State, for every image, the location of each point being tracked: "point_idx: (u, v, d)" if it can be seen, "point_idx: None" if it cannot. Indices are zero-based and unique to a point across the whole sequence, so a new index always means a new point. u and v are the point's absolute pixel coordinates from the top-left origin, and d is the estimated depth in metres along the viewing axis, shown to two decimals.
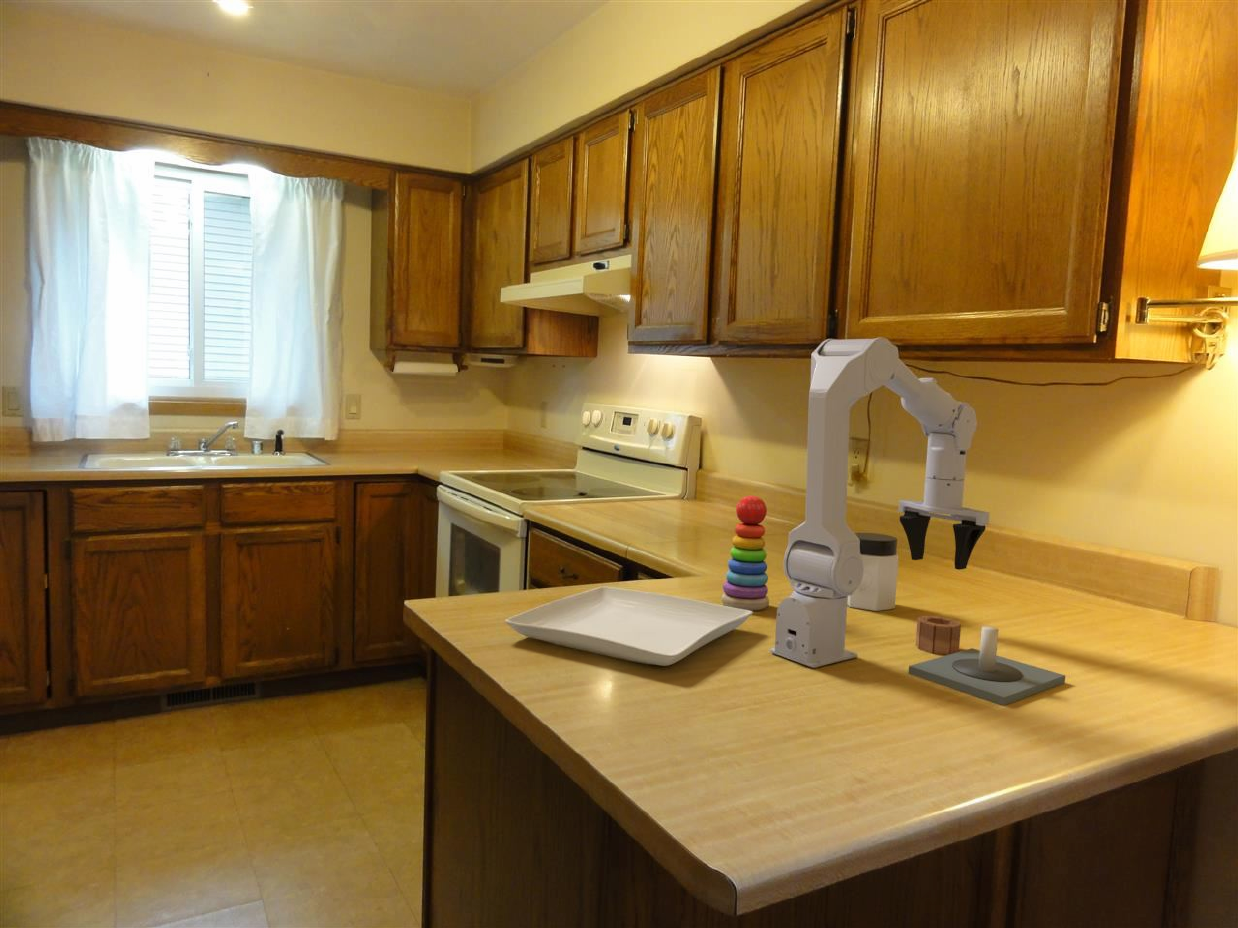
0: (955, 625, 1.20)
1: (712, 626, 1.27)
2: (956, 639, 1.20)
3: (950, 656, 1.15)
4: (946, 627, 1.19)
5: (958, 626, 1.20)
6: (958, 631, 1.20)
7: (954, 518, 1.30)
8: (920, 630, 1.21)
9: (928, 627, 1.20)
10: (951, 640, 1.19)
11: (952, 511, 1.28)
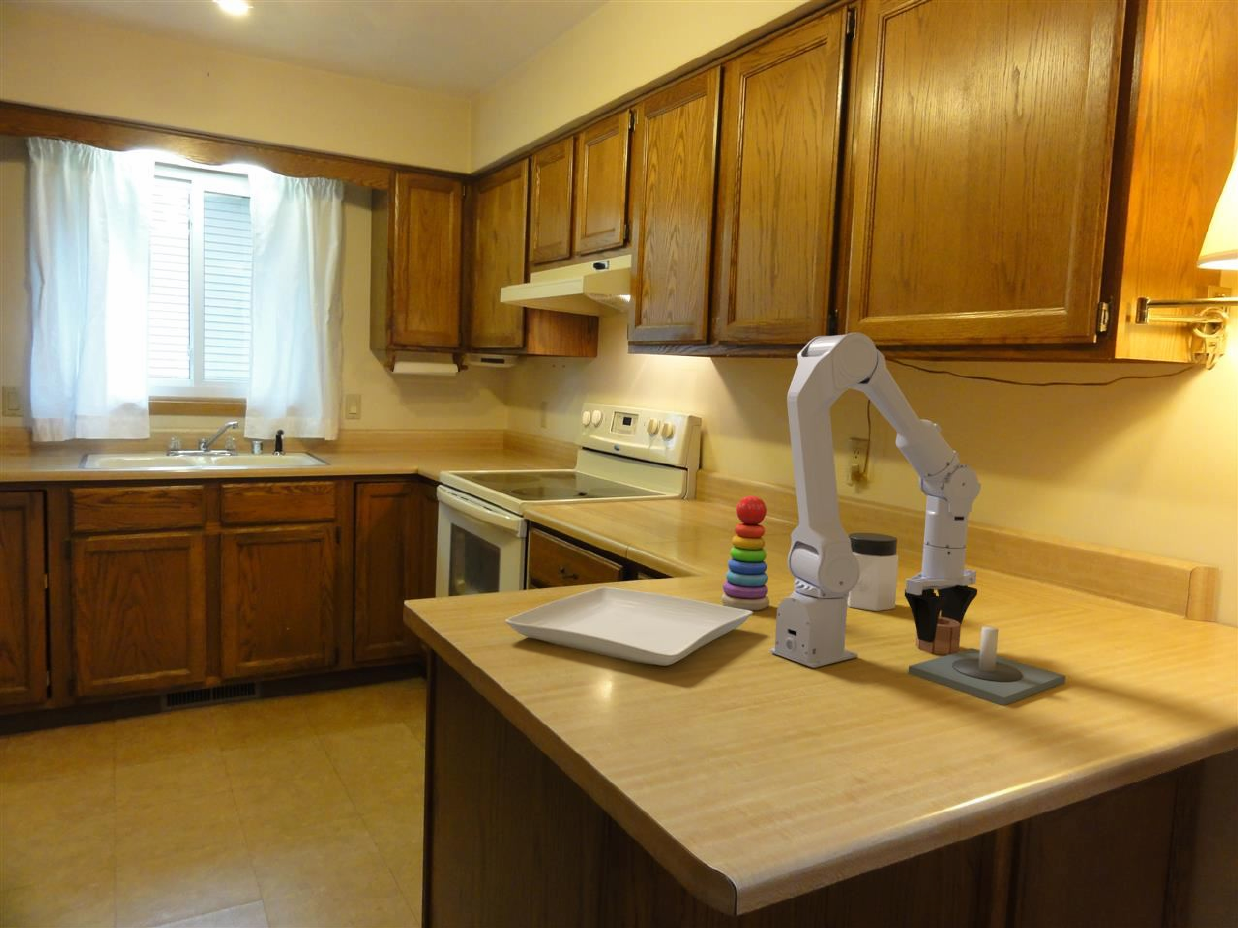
0: (955, 625, 1.20)
1: (712, 626, 1.27)
2: (956, 639, 1.20)
3: (950, 656, 1.15)
4: (946, 627, 1.19)
5: (958, 626, 1.20)
6: (958, 631, 1.20)
7: None
8: None
9: None
10: (951, 640, 1.19)
11: None
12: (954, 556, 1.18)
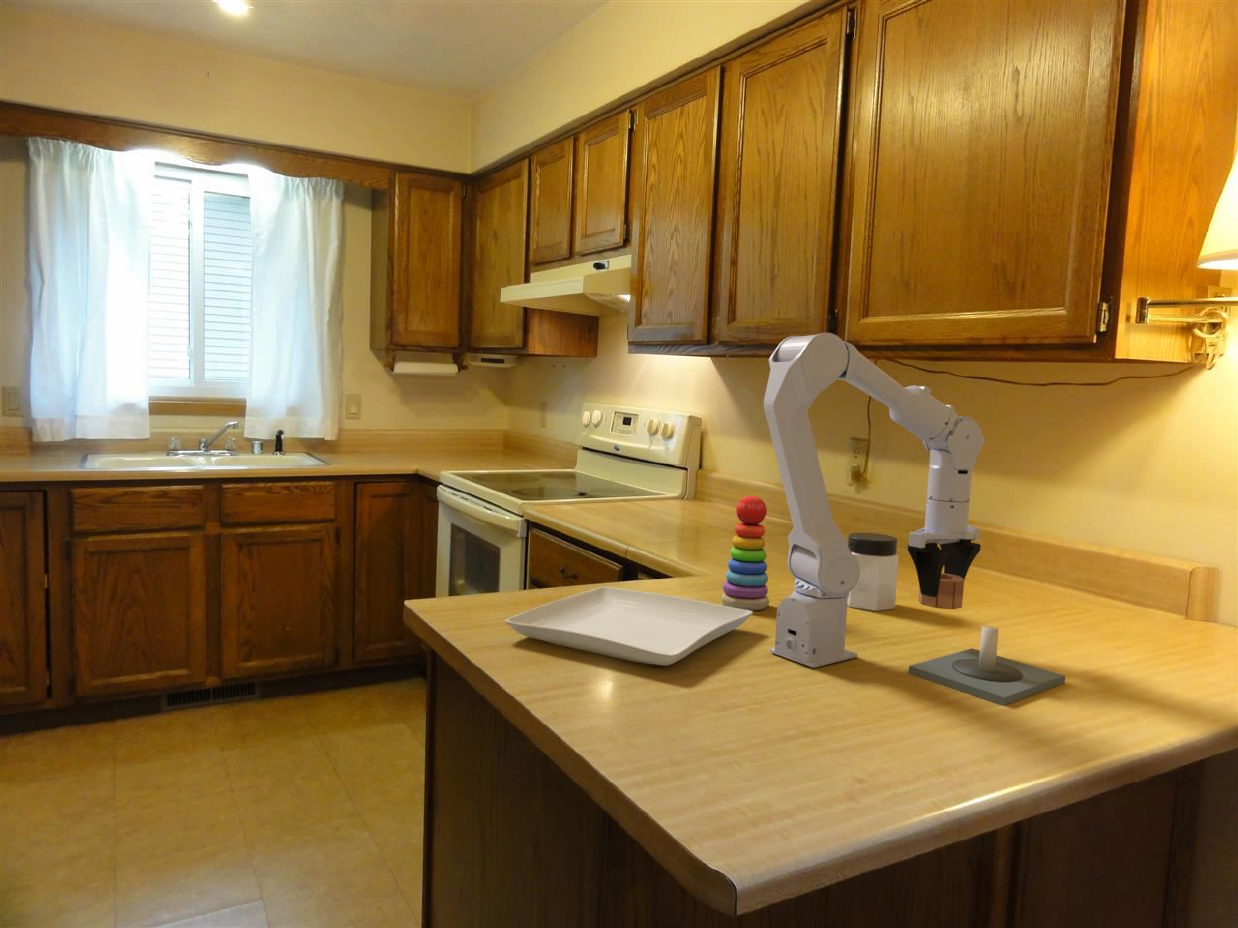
0: (958, 580, 1.19)
1: (712, 626, 1.27)
2: (959, 594, 1.19)
3: (950, 656, 1.15)
4: (949, 582, 1.19)
5: (961, 581, 1.19)
6: (961, 586, 1.20)
7: None
8: None
9: None
10: (954, 595, 1.19)
11: (919, 530, 1.21)
12: (957, 509, 1.18)
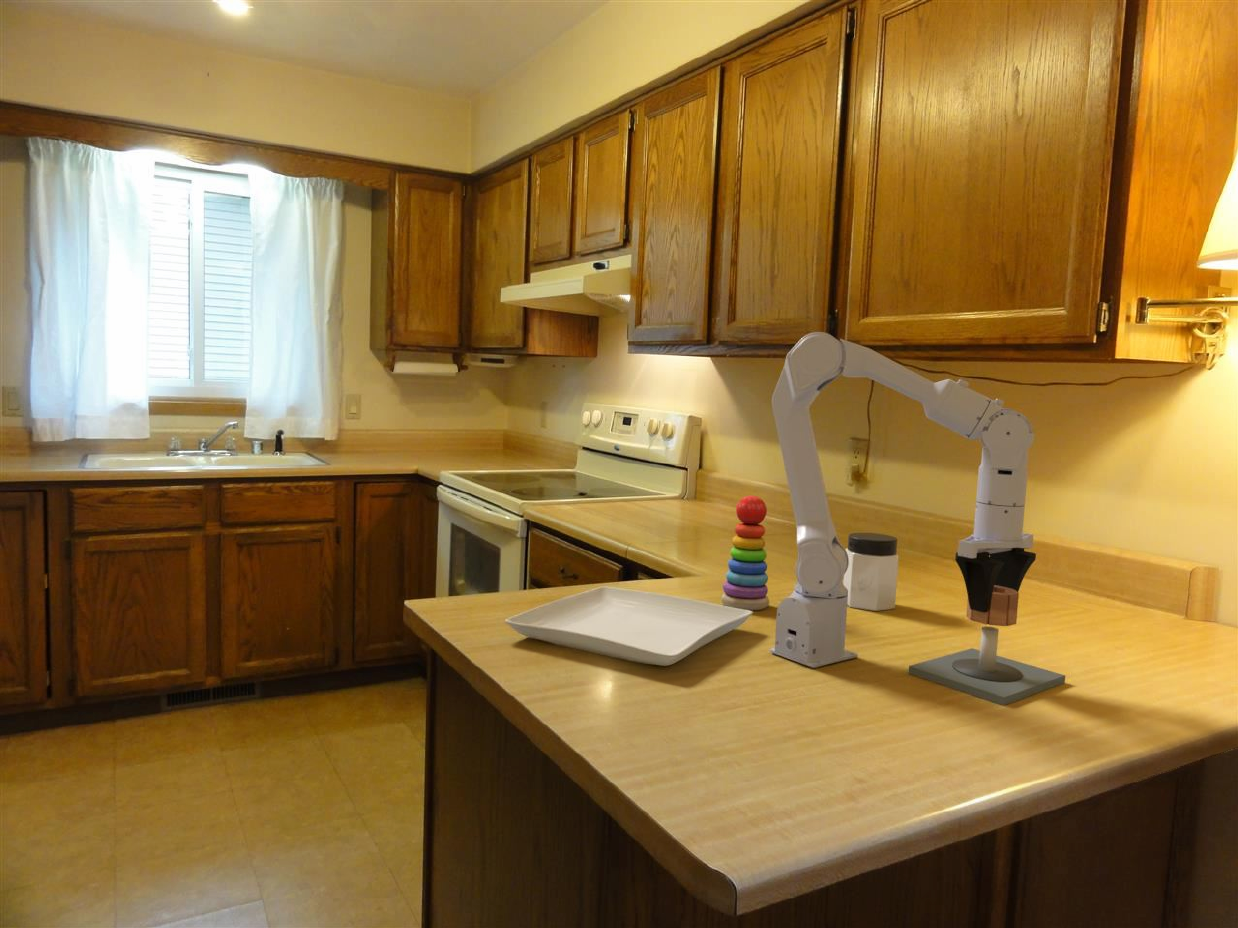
0: (1012, 593, 1.07)
1: (712, 626, 1.27)
2: (1014, 609, 1.07)
3: (950, 656, 1.15)
4: (1003, 595, 1.06)
5: (1016, 594, 1.07)
6: (1016, 600, 1.07)
7: None
8: None
9: None
10: (1008, 610, 1.06)
11: None
12: (1012, 515, 1.05)
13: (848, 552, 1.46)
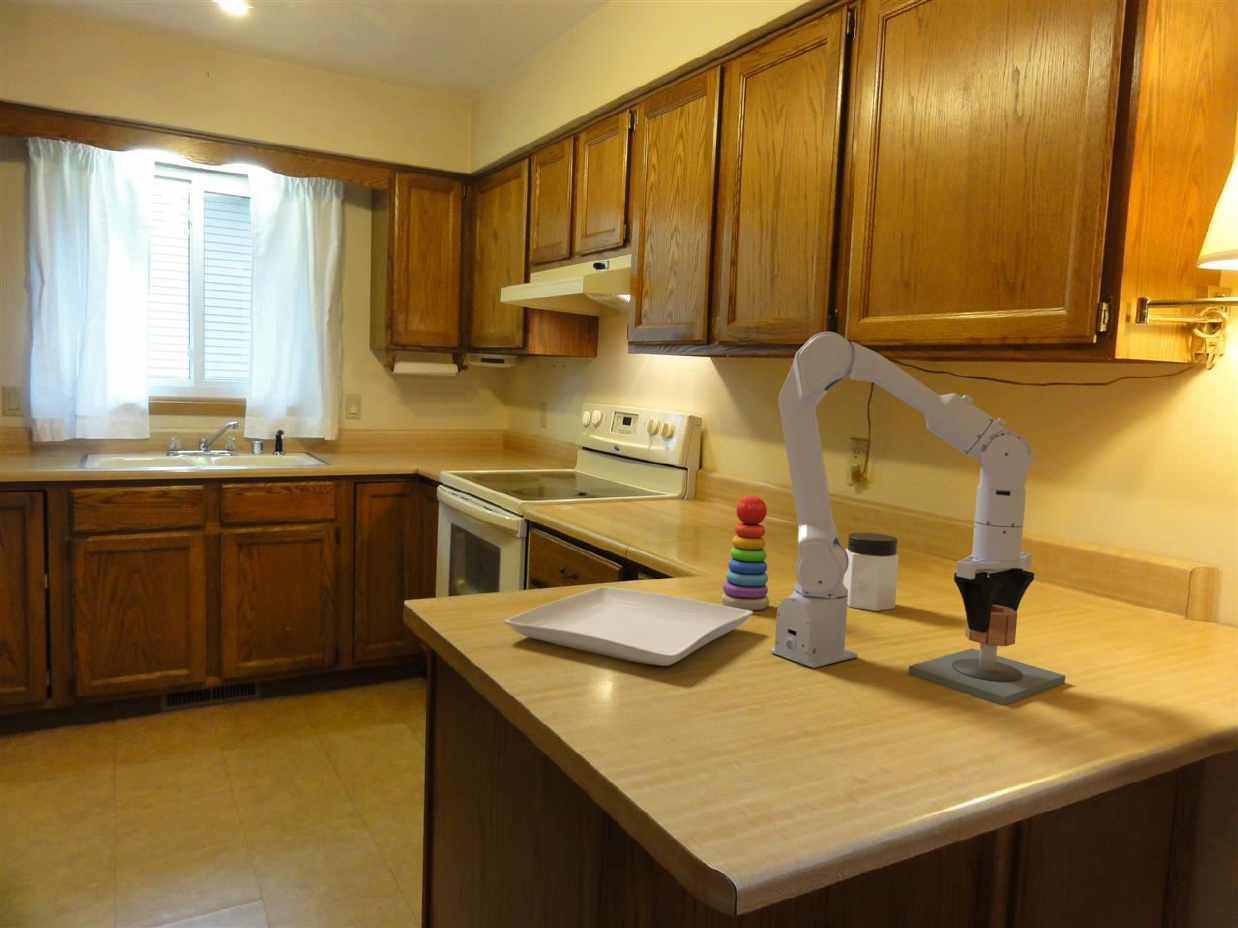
0: (1011, 613, 1.07)
1: (712, 626, 1.27)
2: (1012, 629, 1.07)
3: (950, 656, 1.15)
4: (1001, 615, 1.06)
5: (1014, 614, 1.07)
6: (1014, 620, 1.07)
7: None
8: None
9: None
10: (1007, 630, 1.07)
11: (967, 558, 1.08)
12: (1010, 535, 1.05)
13: (848, 552, 1.46)
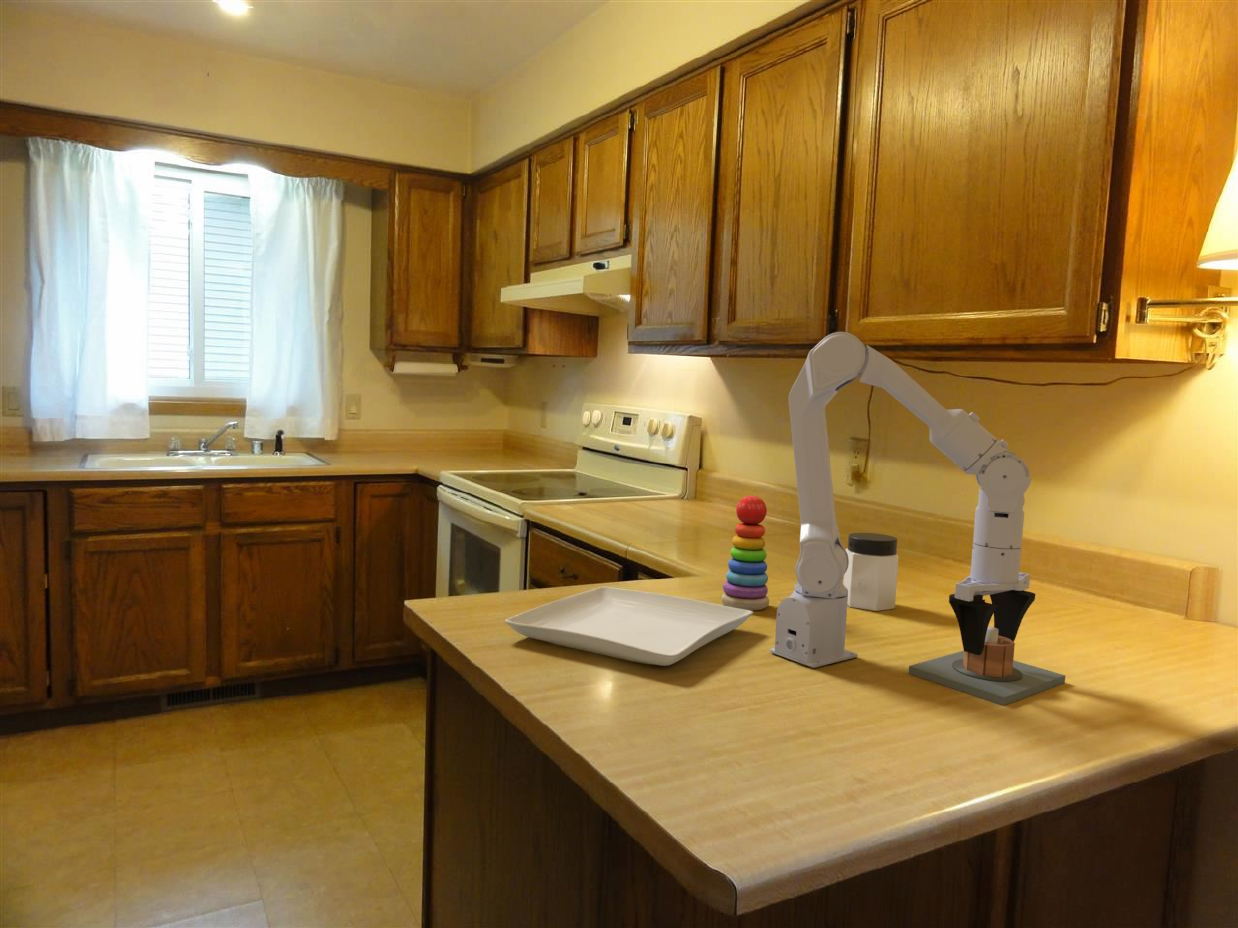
0: (1008, 644, 1.08)
1: (712, 626, 1.27)
2: (1009, 659, 1.07)
3: (950, 656, 1.15)
4: (999, 646, 1.07)
5: (1012, 645, 1.08)
6: (1012, 651, 1.08)
7: None
8: None
9: None
10: (1004, 661, 1.07)
11: (965, 579, 1.09)
12: (1008, 557, 1.06)
13: (848, 552, 1.46)
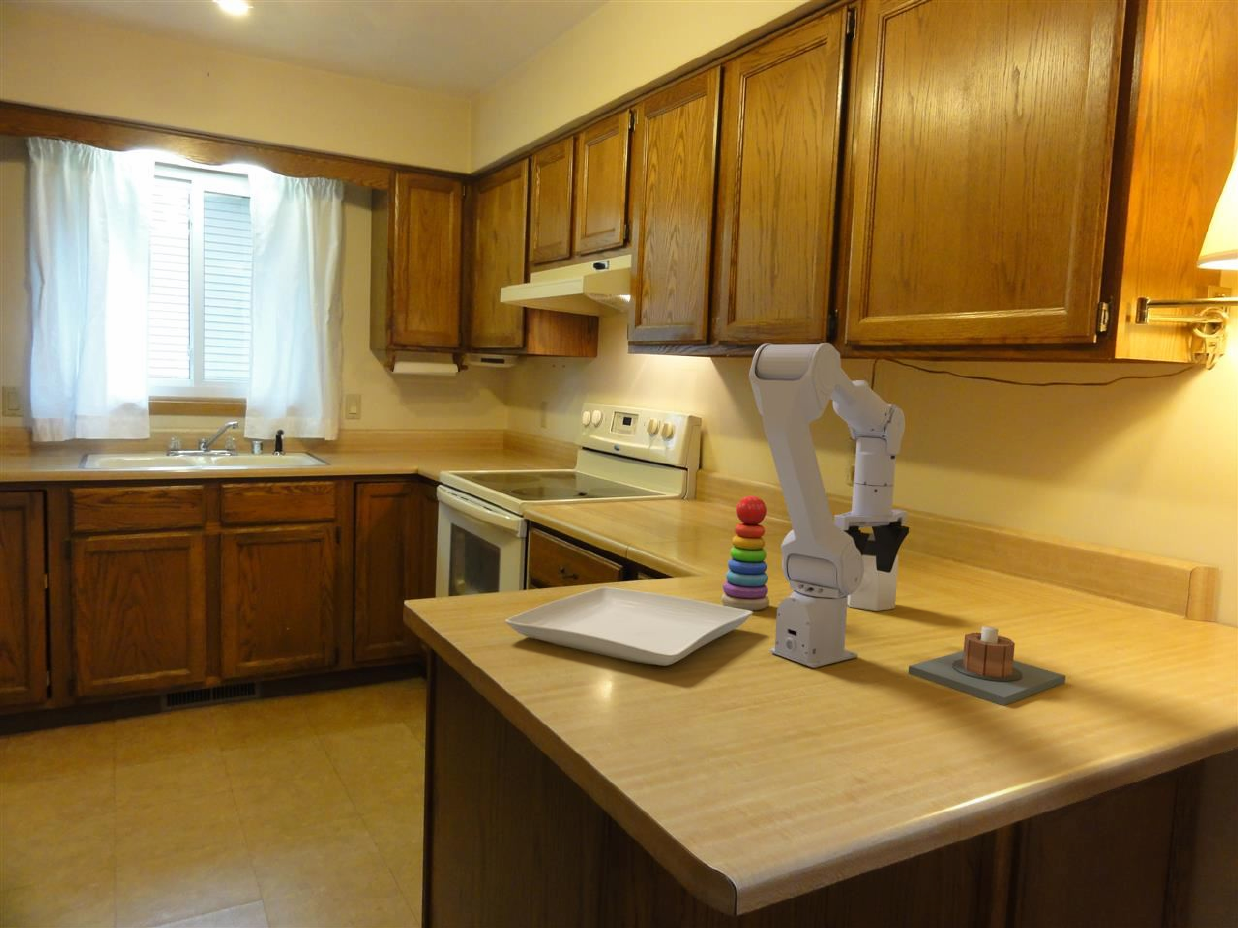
0: (1008, 644, 1.08)
1: (712, 626, 1.27)
2: (1009, 659, 1.07)
3: (950, 656, 1.15)
4: (999, 646, 1.07)
5: (1012, 645, 1.08)
6: (1012, 651, 1.08)
7: None
8: (969, 649, 1.09)
9: (978, 646, 1.08)
10: (1004, 661, 1.07)
11: (846, 514, 1.26)
12: (880, 493, 1.23)
13: None
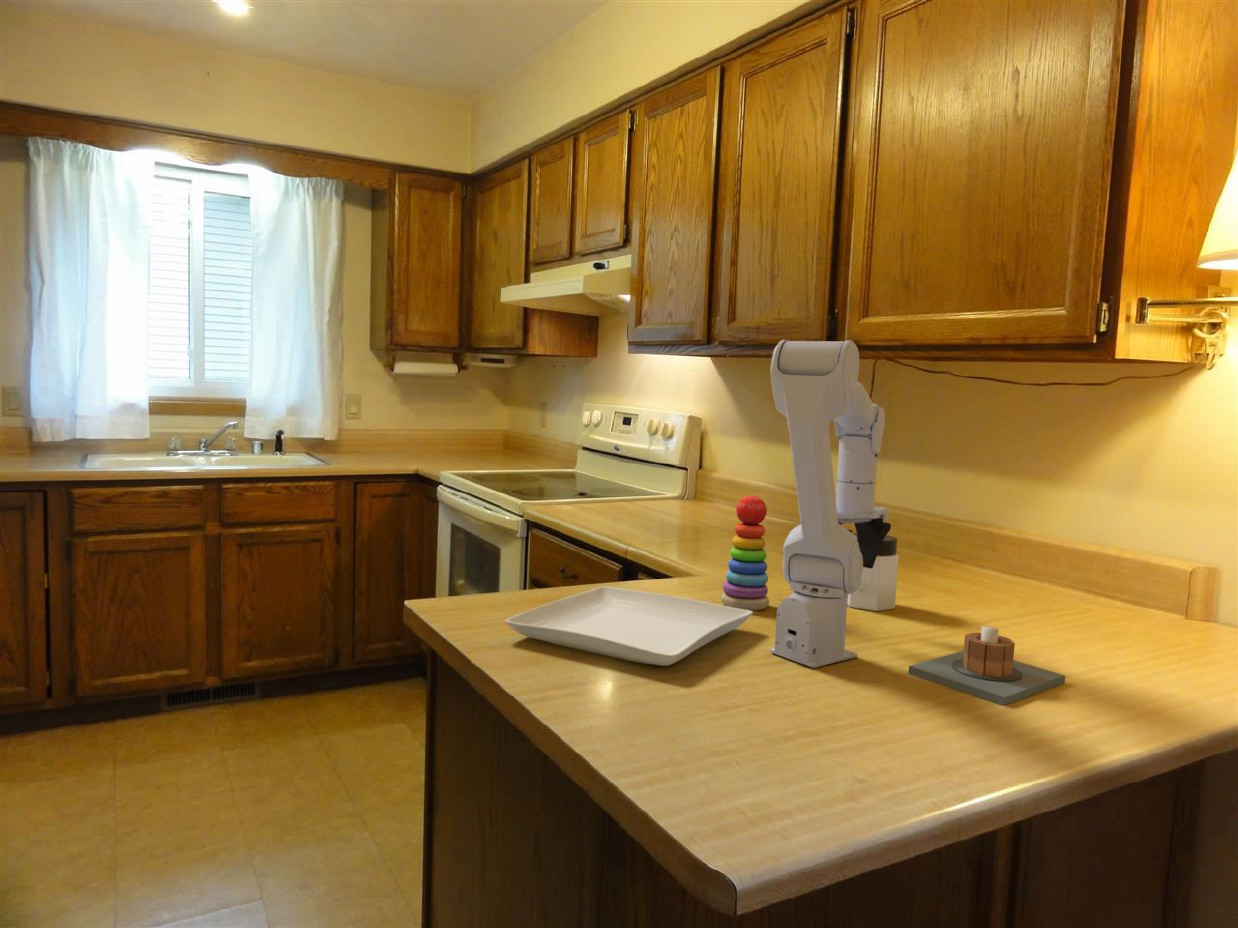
0: (1008, 644, 1.08)
1: (712, 626, 1.27)
2: (1009, 659, 1.07)
3: (950, 656, 1.15)
4: (999, 646, 1.07)
5: (1012, 645, 1.08)
6: (1012, 651, 1.08)
7: None
8: (969, 649, 1.09)
9: (978, 646, 1.08)
10: (1004, 661, 1.07)
11: None
12: (863, 490, 1.25)
13: None
